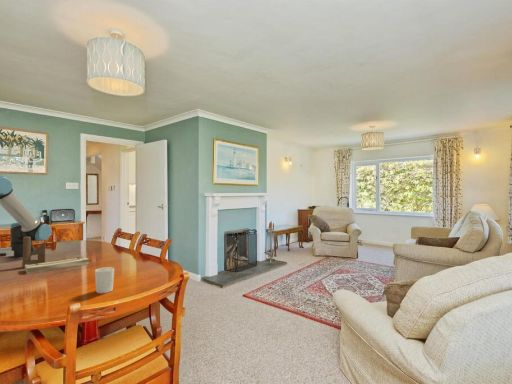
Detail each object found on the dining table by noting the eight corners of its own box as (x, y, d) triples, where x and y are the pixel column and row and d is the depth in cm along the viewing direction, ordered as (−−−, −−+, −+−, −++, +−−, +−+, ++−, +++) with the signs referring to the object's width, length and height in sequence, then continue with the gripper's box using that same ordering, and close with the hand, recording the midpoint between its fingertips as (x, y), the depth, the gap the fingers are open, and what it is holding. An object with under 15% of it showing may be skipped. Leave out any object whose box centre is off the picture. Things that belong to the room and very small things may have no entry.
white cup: (99, 288, 133) (99, 267, 133) (116, 287, 134) (117, 266, 134) (91, 294, 125) (91, 271, 125) (109, 293, 126) (109, 271, 126)
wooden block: (45, 265, 170) (45, 236, 170) (22, 268, 164) (22, 237, 164) (45, 264, 173) (45, 235, 173) (22, 266, 167) (22, 236, 167)
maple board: (24, 270, 160) (24, 264, 160) (84, 261, 182) (84, 256, 182) (27, 274, 153) (27, 268, 153) (88, 264, 175) (88, 259, 175)
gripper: (-41, 260, 155) (10, 254, 171) (-42, 269, 138) (14, 261, 153) (-40, 246, 156) (10, 242, 171) (-42, 253, 138) (15, 248, 153)
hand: (12, 251), depth 162 cm, fingers open, 13 cm apart
